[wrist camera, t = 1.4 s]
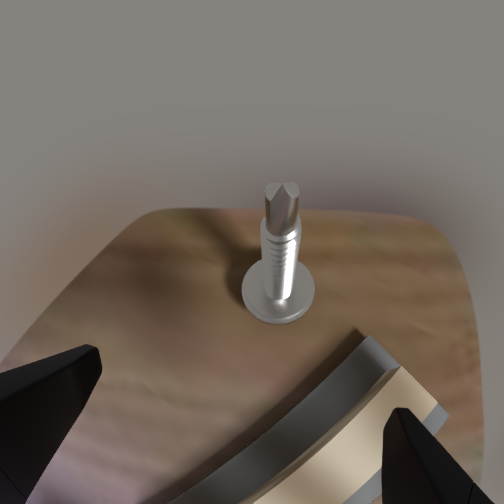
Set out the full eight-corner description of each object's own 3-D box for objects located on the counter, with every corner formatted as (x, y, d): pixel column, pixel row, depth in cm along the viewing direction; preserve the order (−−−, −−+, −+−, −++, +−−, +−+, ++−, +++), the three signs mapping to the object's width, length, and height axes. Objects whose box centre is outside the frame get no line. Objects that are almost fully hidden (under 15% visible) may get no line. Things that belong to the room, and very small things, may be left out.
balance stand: (227, 591, 13) (220, 615, 9) (144, 516, 16) (123, 531, 13) (443, 415, 18) (470, 414, 15) (365, 337, 21) (381, 324, 18)
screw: (324, 296, 23) (278, 344, 22) (276, 255, 25) (230, 299, 23) (372, 184, 11) (286, 271, 10) (277, 123, 13) (189, 187, 12)
